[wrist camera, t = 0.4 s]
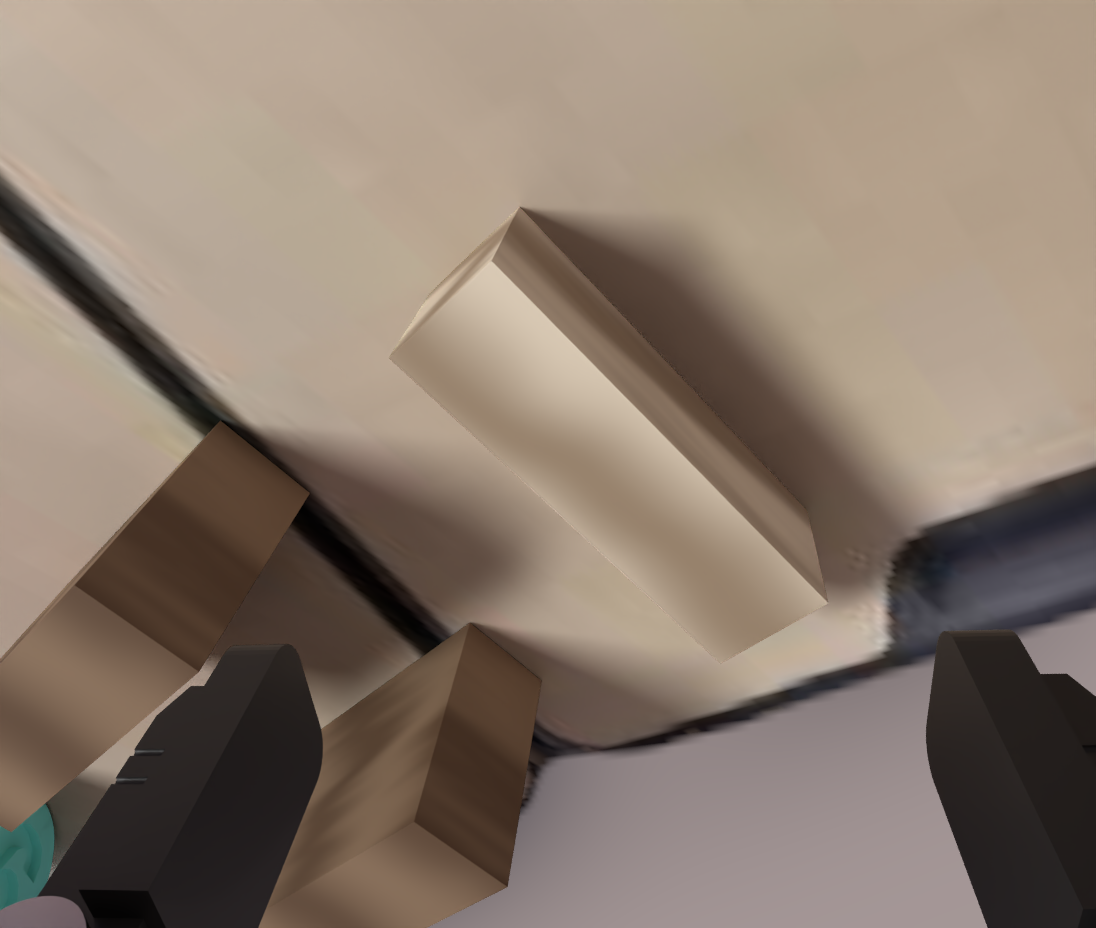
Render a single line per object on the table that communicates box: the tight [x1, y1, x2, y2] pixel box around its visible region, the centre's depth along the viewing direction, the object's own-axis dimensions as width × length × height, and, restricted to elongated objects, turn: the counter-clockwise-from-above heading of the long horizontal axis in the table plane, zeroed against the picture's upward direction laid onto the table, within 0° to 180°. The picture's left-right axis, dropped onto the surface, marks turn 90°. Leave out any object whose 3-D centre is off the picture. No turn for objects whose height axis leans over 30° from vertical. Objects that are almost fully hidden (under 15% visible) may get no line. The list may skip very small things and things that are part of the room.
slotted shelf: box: [0, 421, 542, 928], centre depth 32 cm, size 12×16×9 cm
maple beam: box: [389, 207, 828, 664], centre depth 27 cm, size 4×14×5 cm, turn 44°
